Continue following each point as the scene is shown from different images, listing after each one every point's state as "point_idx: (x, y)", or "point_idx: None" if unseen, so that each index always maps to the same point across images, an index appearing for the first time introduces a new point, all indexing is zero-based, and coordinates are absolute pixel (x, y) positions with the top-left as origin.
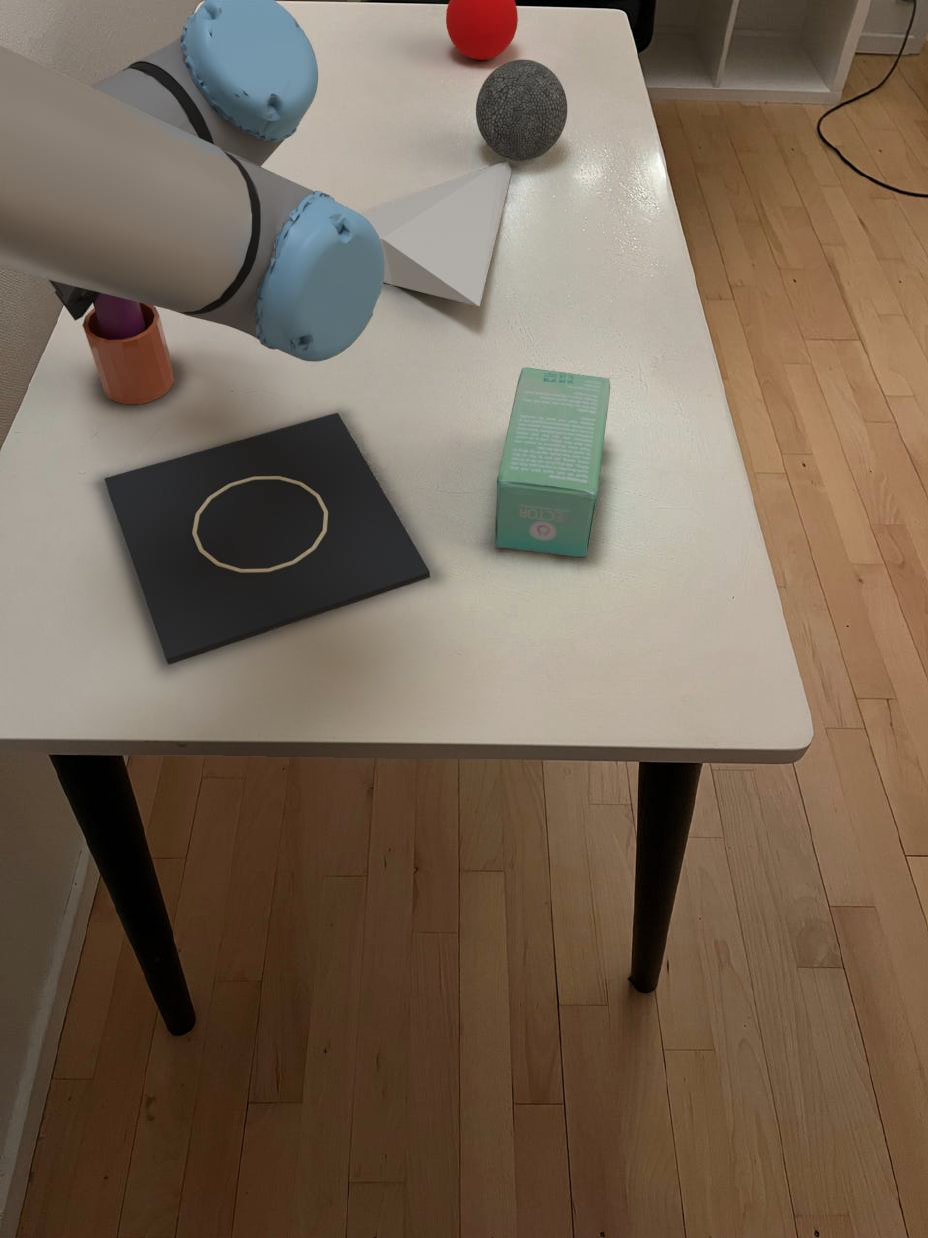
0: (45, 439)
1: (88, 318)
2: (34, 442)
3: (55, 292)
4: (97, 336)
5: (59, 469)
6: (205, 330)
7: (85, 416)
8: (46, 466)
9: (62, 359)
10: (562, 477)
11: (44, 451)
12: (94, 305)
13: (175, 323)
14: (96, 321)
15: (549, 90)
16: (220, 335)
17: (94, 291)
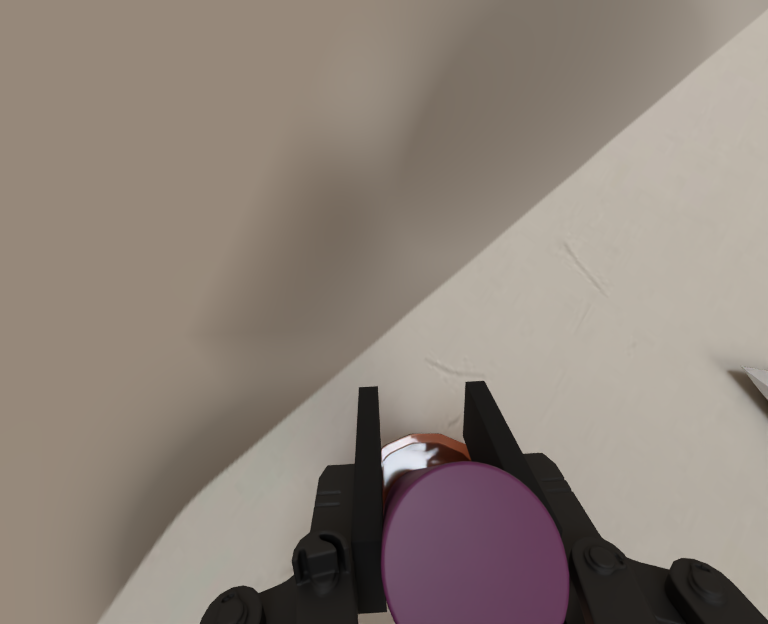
0: (237, 514)
1: (383, 458)
2: (223, 507)
3: (359, 389)
4: (392, 454)
5: (200, 604)
6: (567, 465)
7: (310, 512)
8: (194, 578)
9: (367, 367)
10: None
11: (217, 540)
12: (383, 515)
13: (537, 414)
14: (401, 449)
15: None
16: (582, 497)
17: (362, 611)
